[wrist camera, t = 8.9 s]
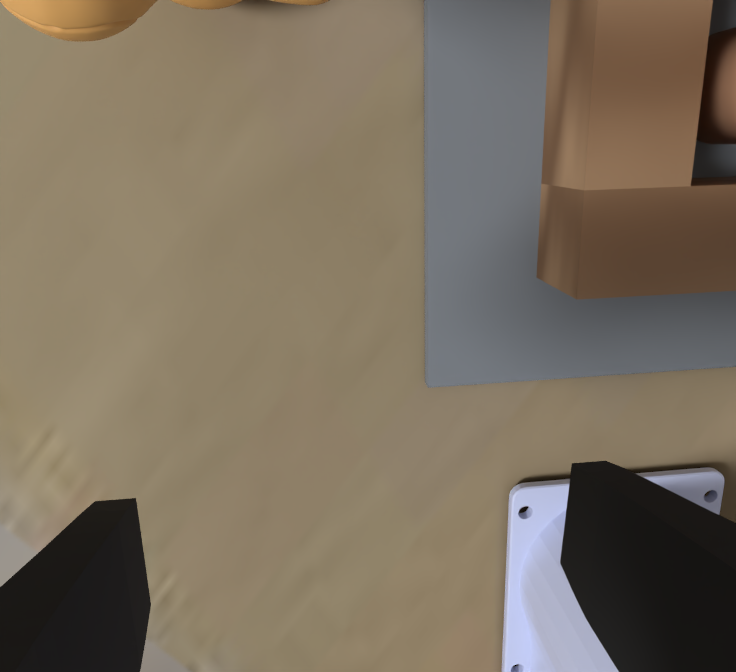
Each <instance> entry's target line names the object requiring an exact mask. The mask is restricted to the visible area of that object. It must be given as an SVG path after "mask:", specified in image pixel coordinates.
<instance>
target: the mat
mask: <svg viewBox="0 0 736 672" xmlns="http://www.w3.org/2000/svg"><path fill="white" fill-rule="evenodd" d="M550 3H551V0H424V163H425V383H426V385H427V387H443V386H458V385H473V384H487V383H502V382H517V381H531V380H546V379H561V378H576V377H590V376H605V375H620V374H635V373H649V372H664V371H679V370H693V369H708V368H723V367H736V291H723V292H705V293H687V294H669V295H651V296H633V297H615V298H597V299H579V300H576V299H575V298H573V297H571V296H569V295H567V294H565V293H564V292H562V291H560V290H558V289H556V288H555V287H553V286H551V285H549V284H547V283H545V282H544V281H542V280H540V279H538V278H536V276H537V257H538V237H539V218H540V198H541V179H542V159H543V140H544V120H545V101H546V81H547V62H548V42H549V23H550ZM735 27H736V0H713V4H712V12H711V21H710V29H709V36H710V35H712V34H714V33H717V32H720V31H724V30H727V29H731V28H735ZM733 176H736V144H707V143H704V142H700V141H698V140H696V146H695V154H694V163H693V171H692V178H707V177H733Z"/></svg>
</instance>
